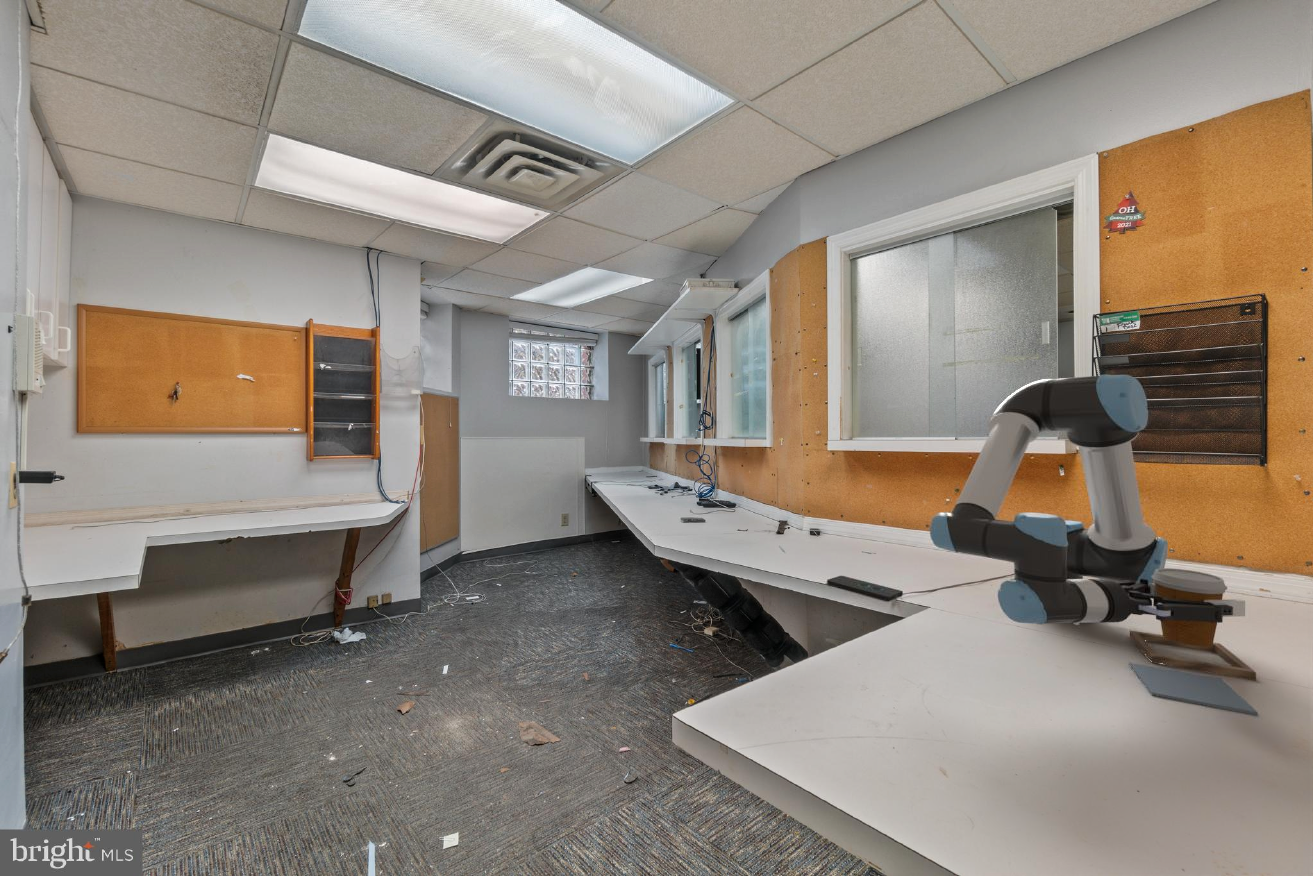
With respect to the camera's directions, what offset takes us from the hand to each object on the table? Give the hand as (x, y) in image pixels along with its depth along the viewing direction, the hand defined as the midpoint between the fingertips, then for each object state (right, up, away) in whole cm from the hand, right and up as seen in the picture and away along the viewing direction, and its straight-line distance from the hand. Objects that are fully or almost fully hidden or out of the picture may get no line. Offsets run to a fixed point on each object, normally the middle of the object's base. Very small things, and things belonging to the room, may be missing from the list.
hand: (1212, 598), depth 92 cm
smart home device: (-40, -16, +58) cm, 72 cm away
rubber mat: (-4, -16, 0) cm, 17 cm away
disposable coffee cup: (-5, -8, 0) cm, 9 cm away
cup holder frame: (+9, -16, +13) cm, 22 cm away
